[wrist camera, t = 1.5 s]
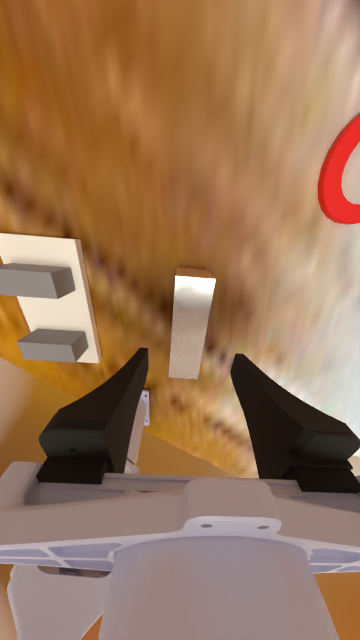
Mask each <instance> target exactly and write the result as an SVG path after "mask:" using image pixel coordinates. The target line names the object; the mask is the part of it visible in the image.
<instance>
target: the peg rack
mask: <svg viewBox="0 0 360 640" xmlns="http://www.w3.org/2000/svg"><path fill="white" fill-rule="evenodd" d="M0 256H1V258H2V261H3V263H4V264H2V265H0V295H7V296H17V298H18V301H19V303H20V306H21V308H22V311H23V313H24V316H25V318H26V320H27V323H28V325H29V328H30V330H31V333H30V334H28V335H26V336H25V337H23V338H22V339H20V340H18V341H17V342H16V343H17V345H18V347H19V349H20V351H21V354H22V356H23V358H24V359H26V360H43V361H60V362H88V363H100V361H101V360H102V355H101V350H100V344H99V339H98V333H97V328H96V322H95V317H94V312H93V306H92V301H91V295H90V290H89V284H88V279H87V274H86V268H85V263H84V257H83V252H82V246H81V241H80V239H68V238H56V237H44V236H33V235H21V234H9V233H0Z"/></svg>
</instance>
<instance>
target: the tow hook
mask: <svg viewBox="0 0 360 640" xmlns="http://www.w3.org/2000/svg"><path fill="white" fill-rule="evenodd" d="M359 142H360V114H359V115H357V116H356V117H355V118H354V119H353V120H352V121H351V122H350V123H349V124H348V126H347V127H346V128H345V129H344V130H343V131H342V132H341V133H340V135H339V136H338V138H337V139H336V141H335V142H334V144H333V146H332V147H331V149H330V150H329V152H328V154H327V157H326V159H325V161H324V164H323V166H322V169H321V173H320V177H319V182H318V199H319V203H320V206H321V209H322V211H323V212H324V214H325V215H326V216H327V218H329V219H331V220H332V221H334V222H336V223H342V224H355V223H360V205H356V204H352V203H350V202H349V201H347V200H346V198H345V197H344V195H343V192H342V188H341V181H342V174H343V170H344V167H345V164H346V162H347V160H348V158H349V156H350V154H351V153H352V151H353V150H354V148H355V147H356V145H357V144H358V143H359Z"/></svg>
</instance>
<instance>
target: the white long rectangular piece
mask: <svg viewBox="0 0 360 640" xmlns="http://www.w3.org/2000/svg"><path fill="white" fill-rule="evenodd" d="M215 281H216V279H215V278H214V277H213V275H212V274H211V273H210V272H209V271H208V270H206V269H194V268H182V267H177V269H176V276H175V290H174V305H173V320H172V335H171V350H170V365H169V377H173V378H189V379H198V374H199V369H200V363H201V358H202V352H203V347H204V341H205V336H206V330H207V325H208V319H209V314H210V308H211V303H212V297H213V292H214V286H215Z"/></svg>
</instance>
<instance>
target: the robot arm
mask: <svg viewBox="0 0 360 640" xmlns="http://www.w3.org/2000/svg"><path fill="white" fill-rule="evenodd" d="M147 372H148V348H139V349H138V351H137V352H136V353H135V354H134V355H133V357H132V358H131V359H130V360H129V361H128V362H127V363H126V364H125V365H124V366H123V367H122V368H121V369H120V370H119V371H118V372H117V373H116V374H114V375H113V376H112V377H111V378H110V379H108V380H107V381H106V382H105V383H103V384H102V385H101V386H99V387H98V388H96V389H95V390H93V391H92V392H90V393H89V394H87V395H85V396H84V397H82V398H80V399H78V400H77V401H75V402H73V403H71V404H69V405H67V406H65V407H63V408H61V409H59V410H58V412H57V413H56V414H55V415H54V416H53V418H52V419H51V420H50V422H49V423H48V425H47V426H46V427H45V429H44V430H43V432H42V433H41V435H40V436H39V442H40V444H41V447H42V448H43V450H44V452H45V453H46V455H47V459H46V461H45V462H44V464H43V465H42V464H40V463H36V462H18V461H15V462H12V463H11V465H10V466H9V467H8V468H7V470H6V471H5V472H4V474H3V475H2V476H1V478H0V563H1V564H14V566H13V569H12V570H11V573H10V577H11V580H10V582H9V584H8V587H7V592H8V598H9V602H10V606H11V610H12V614H13V618H14V622H15V627H16V630H17V638H16V640H81V638H82V637H83V636H84V634H85V633H86V632H87V631H88V630H89V629H90V627H91V626H92V625H93V624H94V623H95V622H96V621H97V620H98V618H99V617H100V616H101V615H102V614H103V618H102V623H101V628H100V633H99V638H98V640H339V637H338V635H337V632H336V630H335V627H334V625H333V622H332V620H331V617H330V615H329V612H328V610H327V607H326V605H325V602H324V600H323V597H322V595H321V592H320V589H319V587H318V584H317V582H316V579H315V577H314V574H313V573H331V572H360V476H356V477H355V476H354V474H353V473H352V472H351V470H350V469H353V467H352V465H351V464H350V463H349V461H348V460H347V459H349V458H350V457H351V456H352V455H353V454H354V453H355V452H356V451H357V450H358V449H359V448H360V439H359V438H358V437H357V436H356V435H355V434H354V433H353V432H352V430H351V429H350V428H349V427H348V426H347V425H346V424H345V423H343V422H341V421H339V420H337V419H335V418H333V417H331V416H329V415H327V414H325V413H323V412H321V411H319V410H318V409H316V408H314V407H312V406H310V405H309V404H307V403H305V402H303V401H302V400H300V399H299V398H297V397H296V396H294V395H292V394H291V393H289V392H288V391H287V390H285V389H284V388H282V387H281V386H280V385H278V384H277V383H276V382H274V381H273V380H272V379H271V378H269V377H268V376H267V375H266V374H265V373H264V372H262V371H261V370H260V369H259V368H258V367H257V366H256V365H255V364H254V363H252V362H251V361H250V360H249V359H248V358H247V357H246V356H245V355H244V354H235V358H234V361H233V364H232V368H231V371H230V373H231V378H232V382H233V385H234V388H235V391H236V394H237V396H238V399H239V401H240V404H241V407H242V409H243V412H244V415H245V419H246V422H247V426H248V430H249V434H250V438H251V442H252V446H253V451H254V455H255V460H256V465H257V470H258V475H259V479H252V478H224V477H198V476H172V475H146V474H145V475H144V474H138V472H139V467H136V466H135V465H136V462H137V457H138V452H139V447H140V442H141V437H142V432H143V427H144V425H145V426H148V425H149V423H150V415H149V391H148V390H143V387H144V384H145V381H146V377H147Z"/></svg>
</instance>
